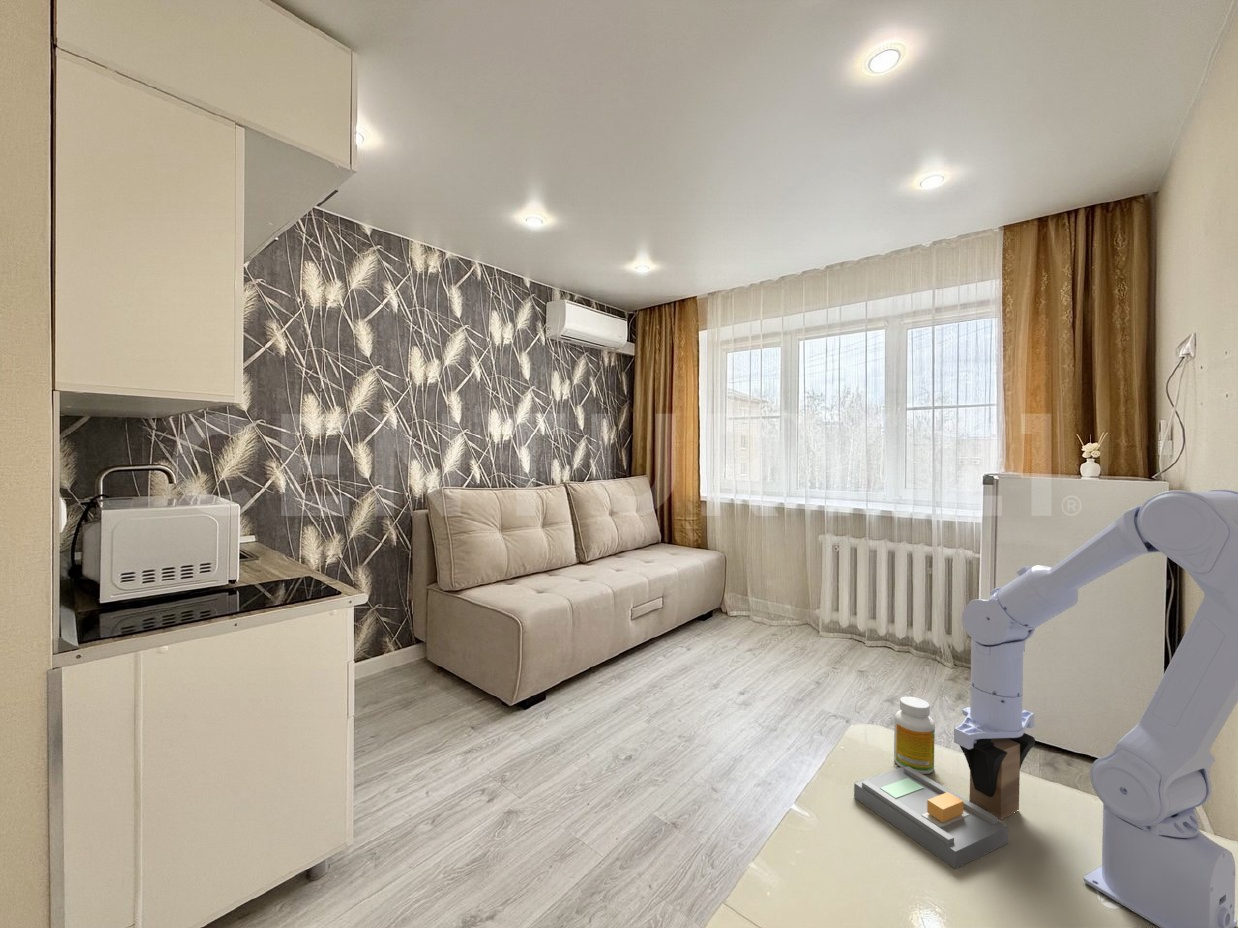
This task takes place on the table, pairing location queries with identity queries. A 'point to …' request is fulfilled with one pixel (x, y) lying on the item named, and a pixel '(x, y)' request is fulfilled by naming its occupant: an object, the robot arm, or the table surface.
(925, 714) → the supplement bottle
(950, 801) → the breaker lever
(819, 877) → the table surface
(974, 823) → the grey railed tray
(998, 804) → the tan wooden post
